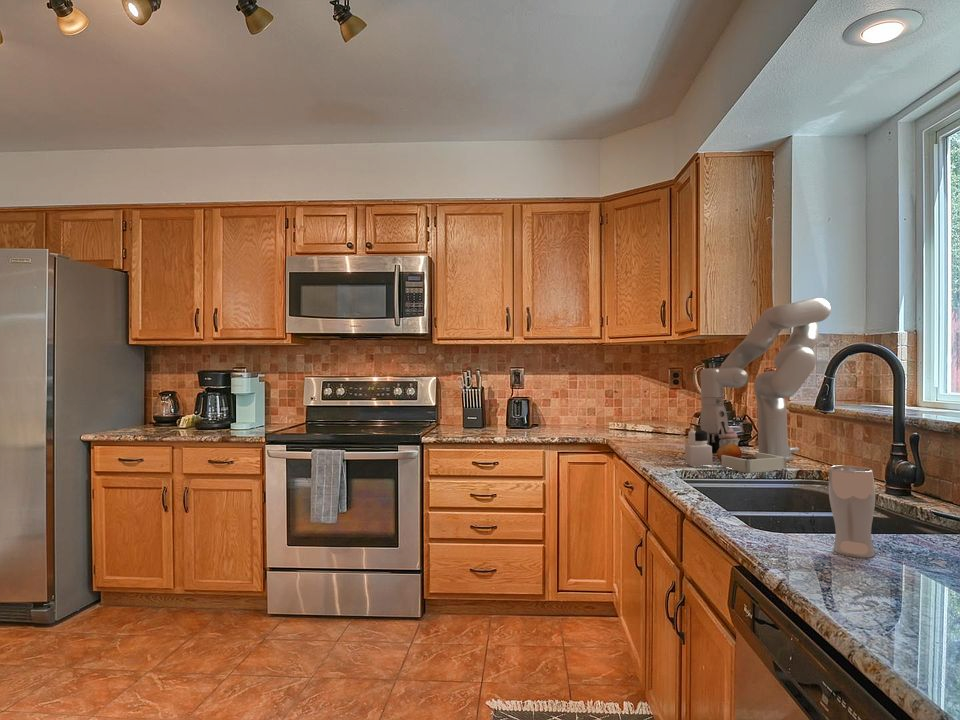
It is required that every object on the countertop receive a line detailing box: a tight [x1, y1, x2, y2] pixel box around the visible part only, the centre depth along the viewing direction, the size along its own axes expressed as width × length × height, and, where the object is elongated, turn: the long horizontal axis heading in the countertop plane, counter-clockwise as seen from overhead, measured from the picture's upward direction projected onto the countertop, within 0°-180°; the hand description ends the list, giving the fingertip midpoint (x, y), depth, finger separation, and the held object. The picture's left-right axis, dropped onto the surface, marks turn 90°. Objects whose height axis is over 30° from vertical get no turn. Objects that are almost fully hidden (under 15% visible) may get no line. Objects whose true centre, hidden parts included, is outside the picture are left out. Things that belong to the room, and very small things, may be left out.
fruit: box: [716, 443, 743, 463], centre depth 195 cm, size 8×8×8 cm
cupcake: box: [719, 425, 741, 448], centre depth 225 cm, size 9×9×10 cm
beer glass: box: [828, 465, 876, 559], centre depth 100 cm, size 7×7×15 cm
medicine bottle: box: [684, 429, 713, 467], centre depth 192 cm, size 7×7×12 cm
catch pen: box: [721, 452, 788, 474], centre depth 184 cm, size 15×12×4 cm
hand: (714, 452), depth 203 cm, fingers closed
